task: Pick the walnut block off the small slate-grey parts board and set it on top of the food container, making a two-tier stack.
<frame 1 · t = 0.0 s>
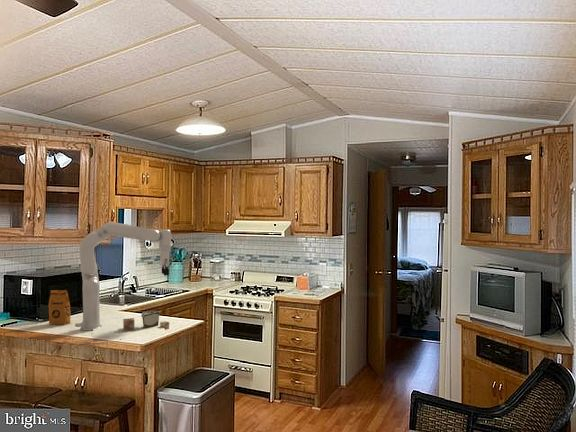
hand: (165, 274, 311), 31 cm above the countertop, tool pointing down, fingers open, 9 cm apart
parts board: (128, 331, 286), on the countertop
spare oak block: (164, 328, 293), on the countertop
coffee package: (60, 324, 308), on the countertop
walnut block: (128, 329, 286), point 1 cm above the countertop, touching parts board
food container: (148, 328, 294), on the countertop
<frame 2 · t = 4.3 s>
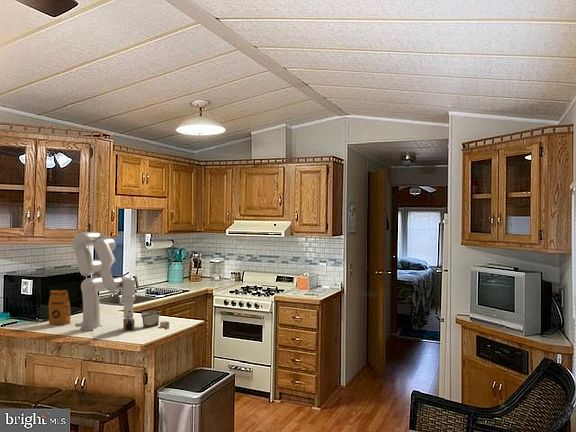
hand: (128, 328, 286), 2 cm above the countertop, tool pointing down, fingers closed on walnut block, 6 cm apart
walnut block: (128, 329, 286), point 1 cm above the countertop, touching gripper, parts board
everything else where it was.
when the fingers open (12 cm above the countertop, at t = 8.9 s): walnut block stays where it is, resting on food container.
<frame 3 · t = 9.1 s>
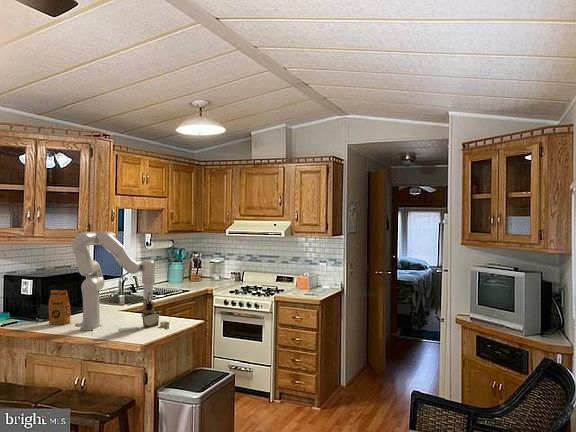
hand: (148, 308, 294), 12 cm above the countertop, tool pointing down, fingers open, 8 cm apart
walnut block: (148, 312, 294), point 10 cm above the countertop, touching food container
food container: (148, 328, 294), on the countertop, touching walnut block
everything else where it was.
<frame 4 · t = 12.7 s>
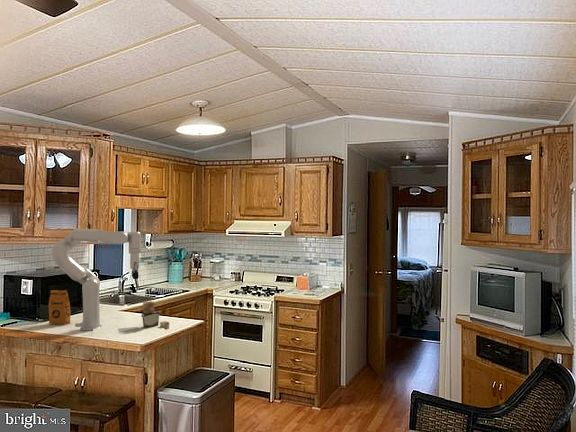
hand: (135, 277, 302), 30 cm above the countertop, tool pointing down, fingers open, 9 cm apart
nothing on the countertop moved.
at the end: walnut block 0.1 cm from the food container (horizontally); walnut block point 10.0 cm above the countertop; walnut block tilted 0° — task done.
